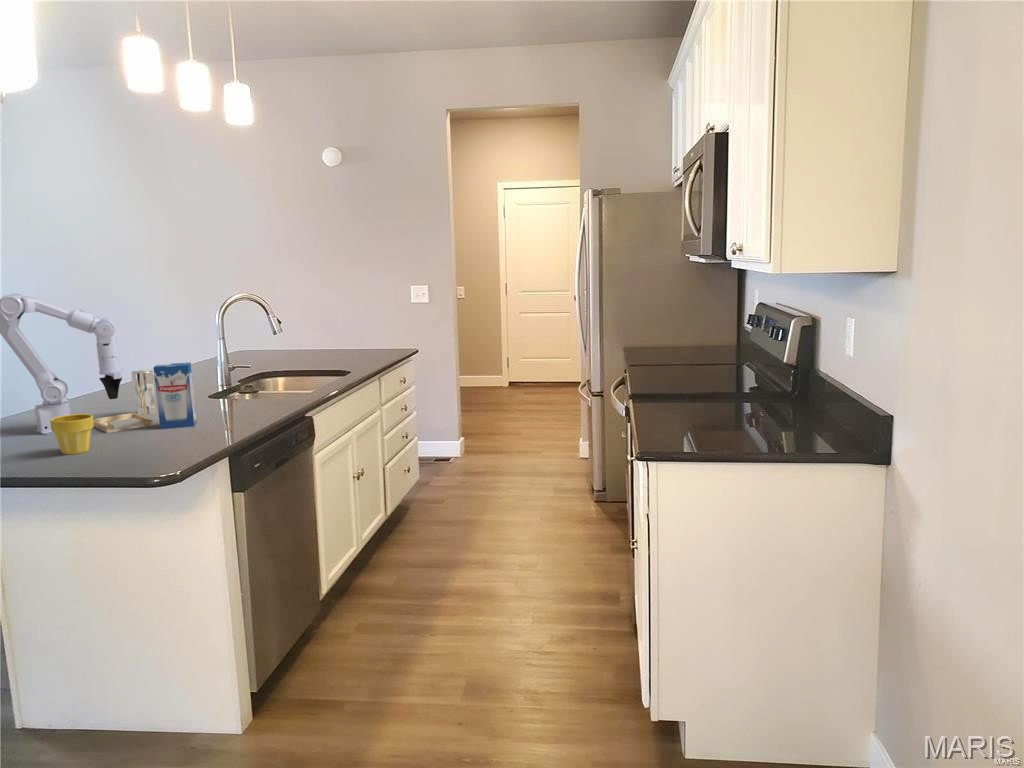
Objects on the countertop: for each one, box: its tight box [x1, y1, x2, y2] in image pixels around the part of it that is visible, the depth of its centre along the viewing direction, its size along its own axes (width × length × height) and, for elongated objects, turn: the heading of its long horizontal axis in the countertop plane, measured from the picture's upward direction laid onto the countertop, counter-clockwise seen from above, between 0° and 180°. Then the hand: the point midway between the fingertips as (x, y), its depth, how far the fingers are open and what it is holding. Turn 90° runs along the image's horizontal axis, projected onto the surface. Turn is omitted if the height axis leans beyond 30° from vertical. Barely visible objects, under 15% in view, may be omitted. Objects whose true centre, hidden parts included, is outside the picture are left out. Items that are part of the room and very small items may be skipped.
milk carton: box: [153, 362, 198, 430], centre depth 235 cm, size 10×6×20 cm, turn 105°
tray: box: [93, 412, 154, 434], centre depth 240 cm, size 14×17×2 cm
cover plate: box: [107, 418, 142, 430], centre depth 238 cm, size 8×7×2 cm
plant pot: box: [50, 413, 95, 455], centre depth 210 cm, size 10×10×10 cm
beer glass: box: [130, 369, 157, 416], centre depth 257 cm, size 7×7×15 cm
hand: (113, 398), depth 243 cm, fingers closed
